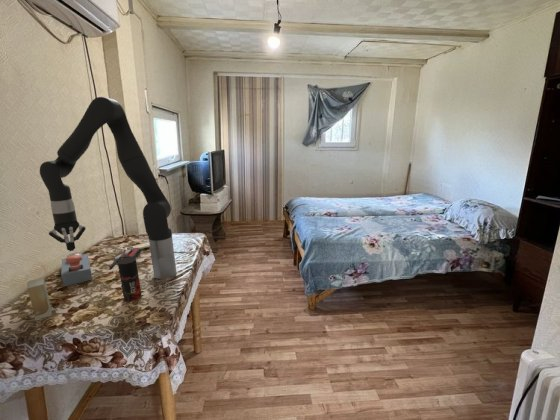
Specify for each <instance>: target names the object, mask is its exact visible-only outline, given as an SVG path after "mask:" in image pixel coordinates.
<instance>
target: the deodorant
mask: <svg viewBox="0 0 560 420" xmlns="http://www.w3.org/2000/svg"><path fill="white" fill-rule="evenodd" d="M117 265H118V271H119V277H120V283H121V288H122V294H123V301H124V302H127V303H129V302H135V301H137V300H139V299H141V298H142V289H141V283H140V277H139V270H138V263H137V257H136V258H133V257H129V258H124V259H121V260H119V261H118V262H117Z"/></svg>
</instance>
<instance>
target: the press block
mask: <svg viewBox="0 0 560 420" xmlns="http://www.w3.org/2000/svg"><path fill="white" fill-rule="evenodd" d="M80 265H81V269H79V270H75V271H71V268H70V264H69V263H66V258H63V259H62V258H61V273H60V276H61V280H62V281H61V282H62V284H63V285H62V286H63V287H68V286H71V285H75V284H80V283H84V282H86V281H88V282H89V281H90V280H93V275H92V274H93V273H92V268H91V264H90V259H89V254H88V253H86V254H85V253H84V254H82V260H81V261H80Z"/></svg>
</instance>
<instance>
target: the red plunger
mask: <svg viewBox="0 0 560 420" xmlns="http://www.w3.org/2000/svg"><path fill="white" fill-rule="evenodd" d="M65 259H66V263H69V264H70V268H71V271H75V270H79V269H81V265H80V261H81V260H82V256H81V255H72V256H69V257H67V256H66V257H65Z"/></svg>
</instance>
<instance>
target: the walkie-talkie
mask: <svg viewBox="0 0 560 420" xmlns="http://www.w3.org/2000/svg"><path fill="white" fill-rule="evenodd" d="M140 254H141V248H140V247H129V248H127V249H126V250H124V252H123V253H121V254H118V255H117V256H115V258H113V259H114V261H113V262H112V263H111V264H109V265H108V268H109V269H110V268H112V267H113V266H114V265H115V264H116V263H118V261H119V260H121V259H124V258H129V257H133V258H136V259H137V258H138V256H140Z"/></svg>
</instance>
